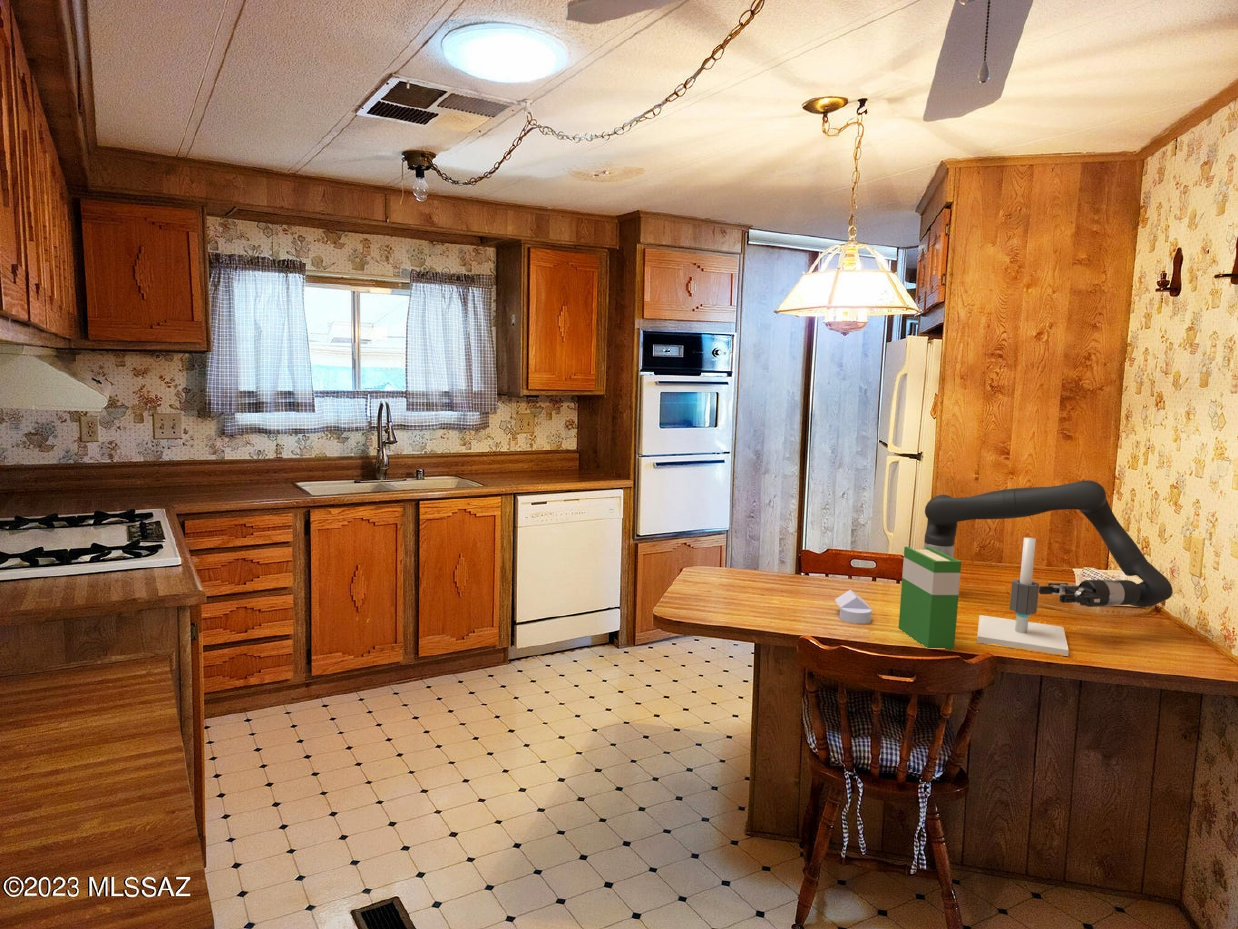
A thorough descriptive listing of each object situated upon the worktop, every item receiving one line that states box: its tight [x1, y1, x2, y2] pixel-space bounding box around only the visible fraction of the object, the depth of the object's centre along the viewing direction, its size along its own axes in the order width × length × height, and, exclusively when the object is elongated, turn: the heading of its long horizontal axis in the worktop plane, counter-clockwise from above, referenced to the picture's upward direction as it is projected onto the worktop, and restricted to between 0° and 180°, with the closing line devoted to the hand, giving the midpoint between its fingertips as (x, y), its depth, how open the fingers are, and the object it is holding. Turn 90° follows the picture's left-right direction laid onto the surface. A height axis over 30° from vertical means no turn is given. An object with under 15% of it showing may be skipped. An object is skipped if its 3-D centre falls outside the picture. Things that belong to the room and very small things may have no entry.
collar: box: [1009, 579, 1040, 615], centre depth 227 cm, size 7×7×8 cm
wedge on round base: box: [834, 589, 872, 625], centre depth 243 cm, size 9×7×13 cm
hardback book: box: [898, 546, 962, 650], centre depth 224 cm, size 18×7×24 cm, turn 6°
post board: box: [976, 537, 1069, 657], centre depth 227 cm, size 22×22×28 cm
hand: (1049, 594), depth 228 cm, fingers open, 8 cm apart
